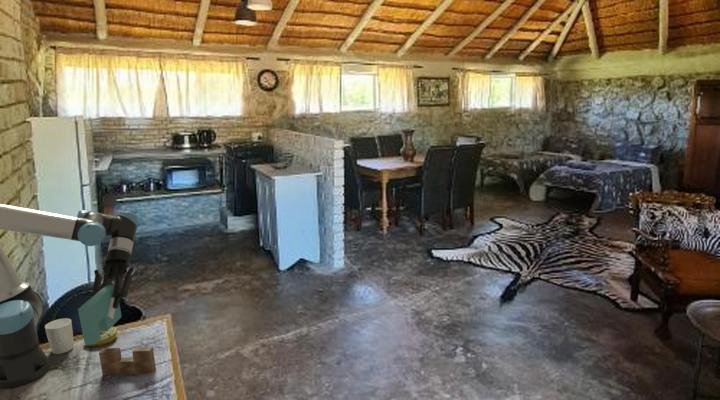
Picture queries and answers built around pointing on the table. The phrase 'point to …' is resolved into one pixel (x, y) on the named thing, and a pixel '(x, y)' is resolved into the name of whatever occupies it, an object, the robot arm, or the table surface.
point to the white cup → (60, 335)
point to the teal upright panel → (97, 315)
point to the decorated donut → (106, 337)
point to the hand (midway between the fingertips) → (104, 318)
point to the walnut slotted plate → (127, 361)
